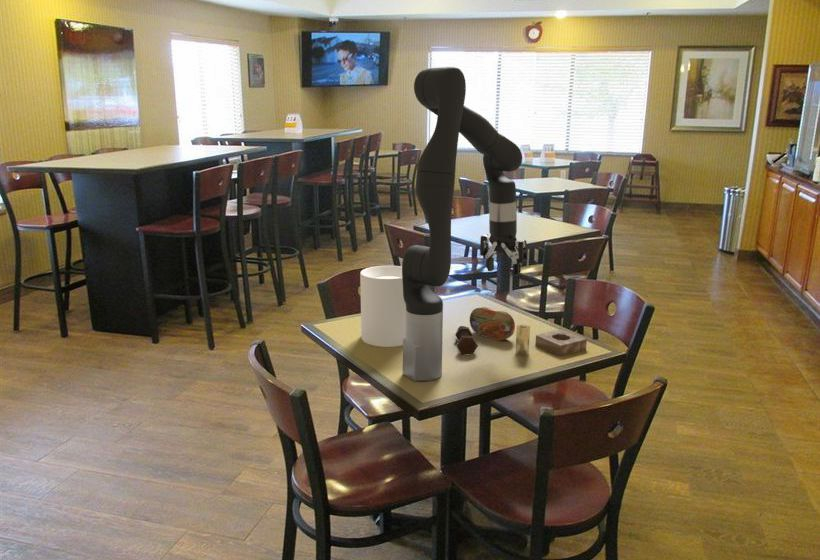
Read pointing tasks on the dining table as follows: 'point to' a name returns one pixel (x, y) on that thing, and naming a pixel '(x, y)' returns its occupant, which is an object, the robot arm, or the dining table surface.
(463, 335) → the dark brown lumpy piece
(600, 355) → the dining table surface
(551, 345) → the block
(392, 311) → the canister
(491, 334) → the tin
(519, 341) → the bushing
